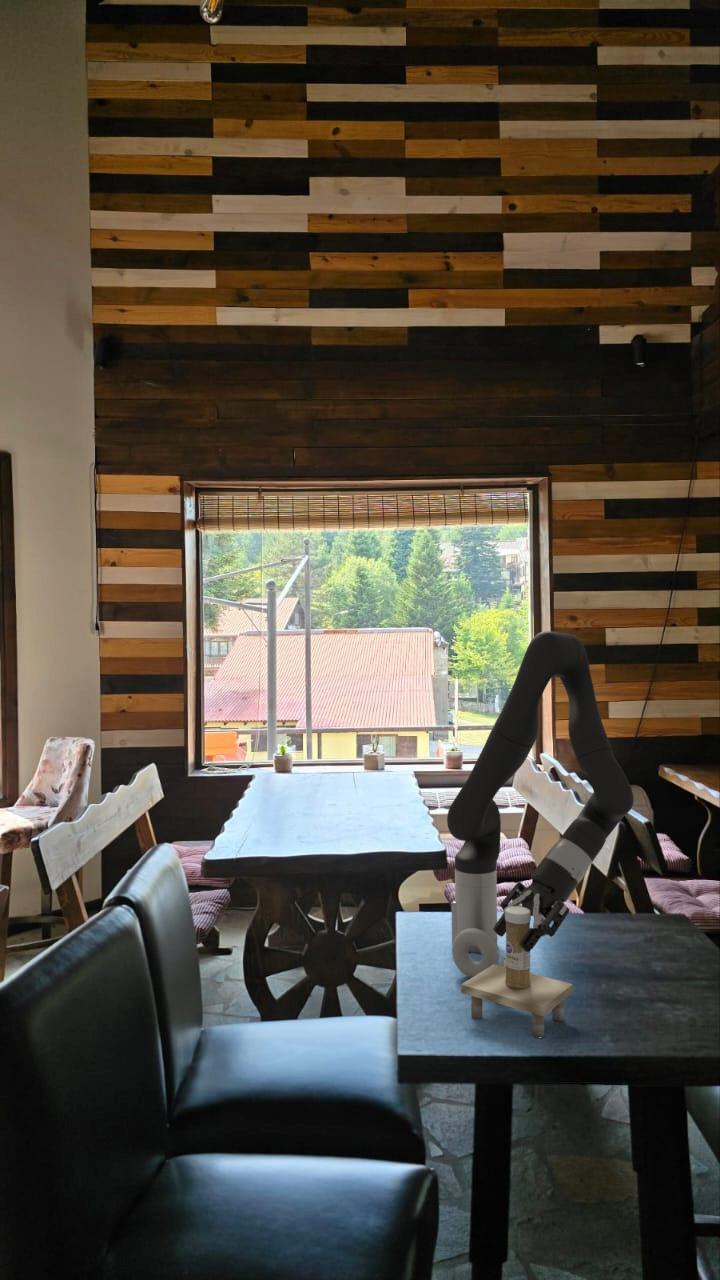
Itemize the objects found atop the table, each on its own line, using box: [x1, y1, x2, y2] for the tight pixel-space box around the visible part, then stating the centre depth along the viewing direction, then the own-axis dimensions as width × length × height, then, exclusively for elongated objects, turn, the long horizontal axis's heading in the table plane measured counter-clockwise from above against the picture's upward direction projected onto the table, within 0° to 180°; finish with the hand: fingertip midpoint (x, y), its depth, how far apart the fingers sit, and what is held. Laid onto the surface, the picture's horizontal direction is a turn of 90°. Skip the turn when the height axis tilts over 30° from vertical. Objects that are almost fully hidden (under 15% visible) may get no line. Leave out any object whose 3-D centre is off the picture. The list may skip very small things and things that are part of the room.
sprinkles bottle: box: [505, 906, 532, 989], centre depth 149 cm, size 5×5×14 cm
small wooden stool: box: [460, 964, 574, 1039], centre depth 149 cm, size 16×12×6 cm
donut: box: [451, 928, 500, 979], centre depth 167 cm, size 10×4×10 cm, turn 57°
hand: (509, 941), depth 149 cm, fingers open, 8 cm apart
